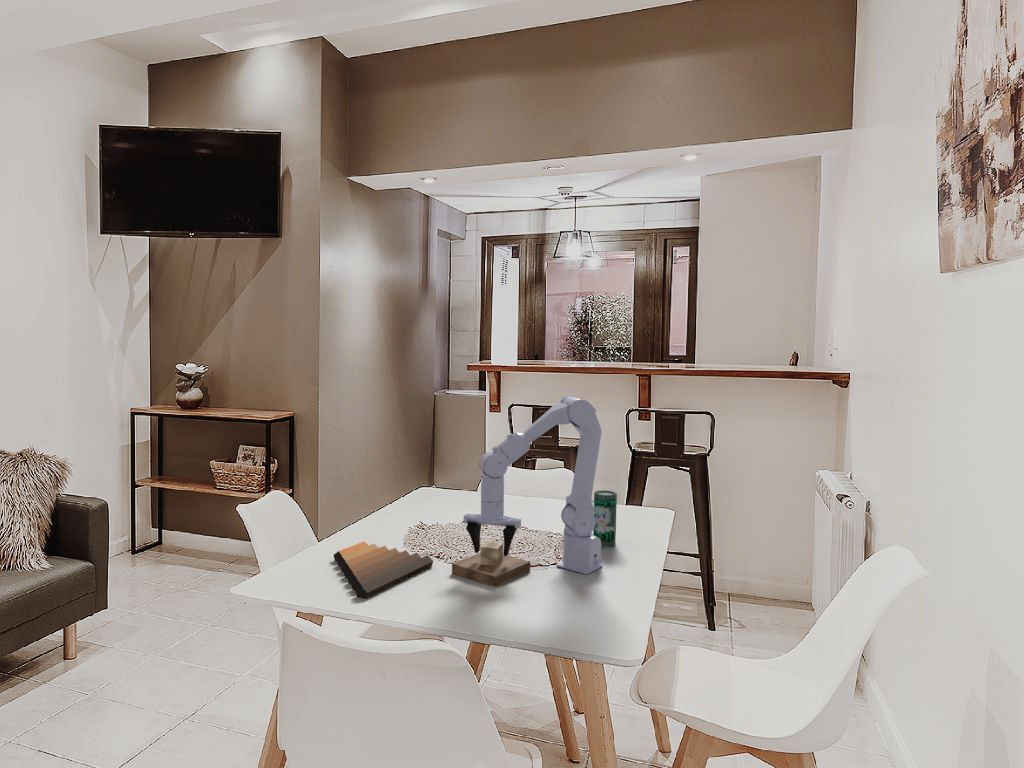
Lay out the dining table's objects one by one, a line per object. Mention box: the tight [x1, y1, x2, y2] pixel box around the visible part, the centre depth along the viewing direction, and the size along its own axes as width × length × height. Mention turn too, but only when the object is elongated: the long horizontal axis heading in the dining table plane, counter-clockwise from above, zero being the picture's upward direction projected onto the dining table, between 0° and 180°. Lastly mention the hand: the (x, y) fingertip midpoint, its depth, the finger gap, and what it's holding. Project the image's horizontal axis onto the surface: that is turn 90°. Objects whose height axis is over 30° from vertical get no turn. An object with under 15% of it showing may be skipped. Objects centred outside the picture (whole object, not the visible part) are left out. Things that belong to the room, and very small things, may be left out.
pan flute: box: [333, 541, 434, 600], centre depth 166 cm, size 25×3×25 cm
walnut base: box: [451, 552, 531, 588], centre depth 168 cm, size 14×14×2 cm
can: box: [592, 490, 618, 549], centre depth 192 cm, size 6×6×15 cm
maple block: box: [479, 541, 504, 566], centre depth 168 cm, size 4×4×4 cm
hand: (491, 553), depth 168 cm, fingers open, 7 cm apart
